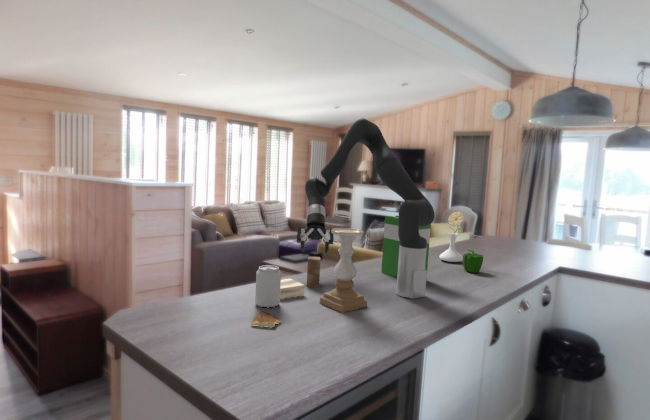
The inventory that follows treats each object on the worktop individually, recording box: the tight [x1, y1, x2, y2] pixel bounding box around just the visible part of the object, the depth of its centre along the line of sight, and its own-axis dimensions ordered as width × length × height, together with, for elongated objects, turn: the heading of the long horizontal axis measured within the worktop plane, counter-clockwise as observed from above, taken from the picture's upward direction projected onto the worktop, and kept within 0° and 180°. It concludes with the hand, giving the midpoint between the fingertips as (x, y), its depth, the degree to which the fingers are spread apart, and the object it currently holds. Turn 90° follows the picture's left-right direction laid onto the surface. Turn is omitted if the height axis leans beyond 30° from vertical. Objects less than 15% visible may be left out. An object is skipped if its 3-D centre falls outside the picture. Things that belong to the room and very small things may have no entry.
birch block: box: [280, 278, 305, 300], centre depth 141 cm, size 9×9×4 cm
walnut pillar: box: [306, 255, 321, 288], centre depth 153 cm, size 4×4×10 cm
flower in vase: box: [438, 211, 465, 263], centre depth 204 cm, size 13×11×25 cm
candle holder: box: [319, 227, 368, 313], centre depth 131 cm, size 11×11×24 cm
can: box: [254, 264, 282, 309], centre depth 128 cm, size 8×8×12 cm
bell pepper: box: [462, 248, 484, 274], centre depth 186 cm, size 8×8×10 cm
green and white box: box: [380, 215, 432, 281], centre depth 171 cm, size 18×7×24 cm, turn 39°
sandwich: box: [250, 309, 282, 328], centre depth 116 cm, size 11×8×2 cm
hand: (314, 251), depth 159 cm, fingers open, 8 cm apart
